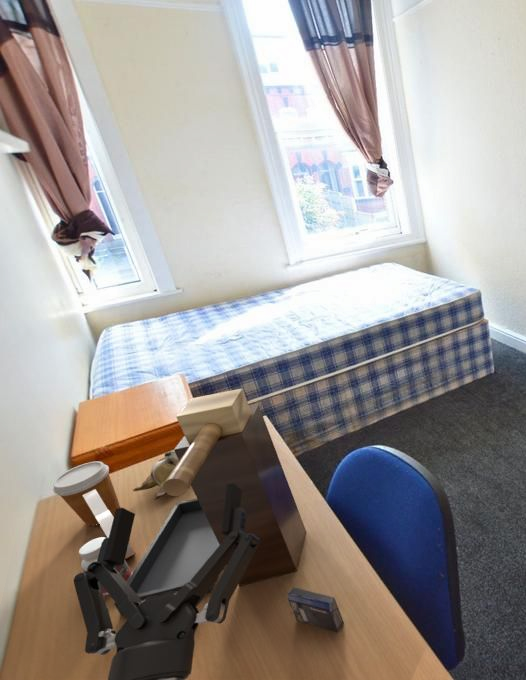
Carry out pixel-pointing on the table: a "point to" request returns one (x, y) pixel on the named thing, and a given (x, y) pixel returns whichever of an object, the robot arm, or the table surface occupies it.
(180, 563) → the tray
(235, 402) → the mallet
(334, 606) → the mini dv tape
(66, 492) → the disposable coffee cup
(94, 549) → the pill bottle
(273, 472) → the stand
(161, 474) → the ceramic sculpture
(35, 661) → the table surface
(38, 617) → the table surface
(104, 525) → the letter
